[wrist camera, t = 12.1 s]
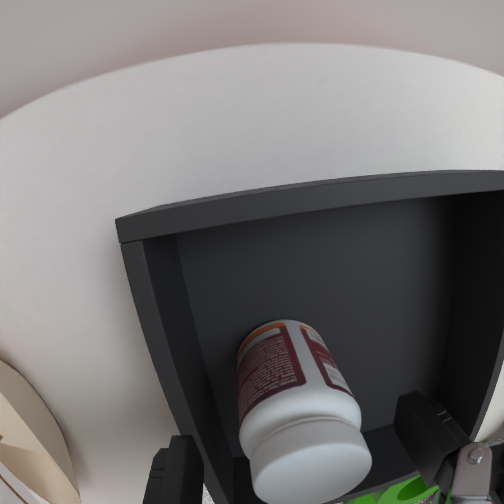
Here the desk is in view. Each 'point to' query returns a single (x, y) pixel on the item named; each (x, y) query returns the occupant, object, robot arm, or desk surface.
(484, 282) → the tray
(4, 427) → the toy sailboat
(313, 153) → the desk surface
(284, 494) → the pill bottle
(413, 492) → the green ring bracket
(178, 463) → the robot arm
